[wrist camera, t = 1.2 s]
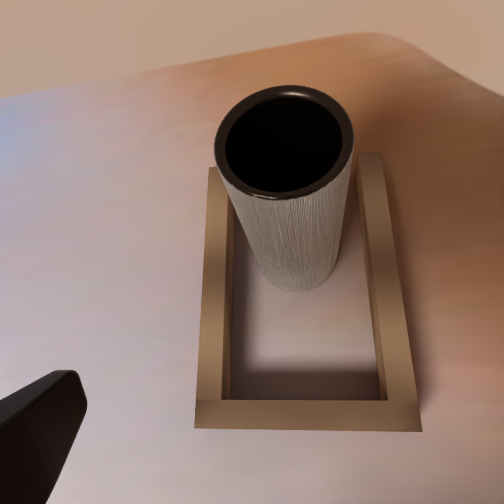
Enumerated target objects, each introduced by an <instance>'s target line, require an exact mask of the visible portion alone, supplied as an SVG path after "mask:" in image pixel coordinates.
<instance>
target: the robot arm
mask: <svg viewBox="0 0 504 504" xmlns="http://www.w3.org/2000/svg"><path fill="white" fill-rule="evenodd" d="M86 410H87V398H86V395H85V392H84V389H83V386H82V383H81V380H80V377H79V375H78V373H77V372H76V371H74V370H56V371H53V372H51V373H49V374H47V375H46V376H44V377H42V378H40V379H38V380H36V381H35V382H33V383H31V384H29V385H27V386H25V387H24V388H22V389H20V390H18V391H16V392H14V393H13V394H11V395H9V396H7V397H5V398H3V399H2V400H0V504H46V502H47V500H48V498H49V496H50V494H51V492H52V490H53V488H54V486H55V484H56V482H57V480H58V478H59V475H60V473H61V471H62V468H63V466H64V464H65V461H66V459H67V457H68V454H69V452H70V449H71V447H72V445H73V442H74V440H75V438H76V435H77V433H78V431H79V428H80V426H81V423H82V421H83V419H84V416H85V414H86Z"/></svg>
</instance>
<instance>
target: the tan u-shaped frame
mask: <svg viewBox="0 0 504 504" xmlns="http://www.w3.org/2000/svg"><path fill="white" fill-rule="evenodd" d="M355 181H356V189H357V198H358V206H359V215H360V224H361V232H362V241H363V249H364V258H365V267H366V275H367V284H368V293H369V301H370V310H371V318H372V327H373V336H374V344H375V353H376V361H377V370H378V379H379V387H380V396H381V401H363V400H230V391H231V350H232V308H233V267H234V225H235V208H234V206H233V204H232V201H231V199H230V196H229V194H228V192H227V189H226V187H225V185H224V182H223V180H222V177H221V175H220V173H219V170H218V168H217V167H210V168H209V176H208V194H207V212H206V230H205V248H204V266H203V283H202V301H201V319H200V337H199V355H198V373H197V390H196V408H195V426H194V428H210V429H271V430H332V431H394V432H423V431H422V425H421V418H420V411H419V405H418V398H417V391H416V385H415V378H414V371H413V365H412V358H411V351H410V345H409V338H408V331H407V325H406V318H405V312H404V305H403V298H402V292H401V285H400V278H399V272H398V265H397V258H396V252H395V245H394V238H393V232H392V225H391V218H390V212H389V205H388V198H387V192H386V185H385V179H384V172H383V165H382V159H381V152H375V153H364V154H358V158H357V164H356V170H355Z"/></svg>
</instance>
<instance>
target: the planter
mask: <svg viewBox="0 0 504 504" xmlns="http://www.w3.org/2000/svg"><path fill="white" fill-rule="evenodd" d="M354 142H355V135H354V128H353V125H352V122H351V119H350V117H349V115H348V114H347V112H346V111H345V109H344V108H343V107H342V106H341V105H340V104H339V103H338V102H337V101H336V100H335V99H333V98H332V97H331V96H329V95H327V94H325V93H324V92H321V91H319V90H316V89H313V88H310V87H305V86H298V85H283V86H275V87H270V88H267V89H263V90H261V91H258V92H256V93H254V94H251V95H250V96H248V97H246V98H245V99H243V100H242V101H240V102H239V103H238V104H236V105H235V106H234V107H233V108H232V109H231V110H230V111H229V112H228V113H227V115H226V116H225V117H224V119H223V120H222V122H221V124H220V126H219V128H218V130H217V133H216V137H215V142H214V157H215V162H216V165H217V168H218V170H219V173H220V175H221V177H222V180H223V182H224V185H225V187H226V189H227V192H228V194H229V196H230V199H231V201H232V204H233V206H234V208H235V211H236V213H237V215H238V218H239V220H240V223H241V225H242V227H243V230H244V232H245V234H246V237H247V239H248V242H249V244H250V246H251V249H252V251H253V253H254V256H255V258H256V260H257V263H258V265H259V267H260V269H261V271H262V273H263V274H264V276H265V277H266V278H267V279H268V280H269V281H270V282H271V283H272V284H274V285H275V286H277V287H279V288H281V289H284V290H288V291H306V290H309V289H312V288H315V287H317V286H318V285H320V284H321V283H323V282H324V281H325V280H326V279H327V278H328V277H329V276H330V274H331V273H332V271H333V269H334V267H335V264H336V260H337V256H338V250H339V243H340V236H341V230H342V223H343V217H344V210H345V204H346V197H347V191H348V184H349V178H350V171H351V165H352V158H353V151H354Z"/></svg>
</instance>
